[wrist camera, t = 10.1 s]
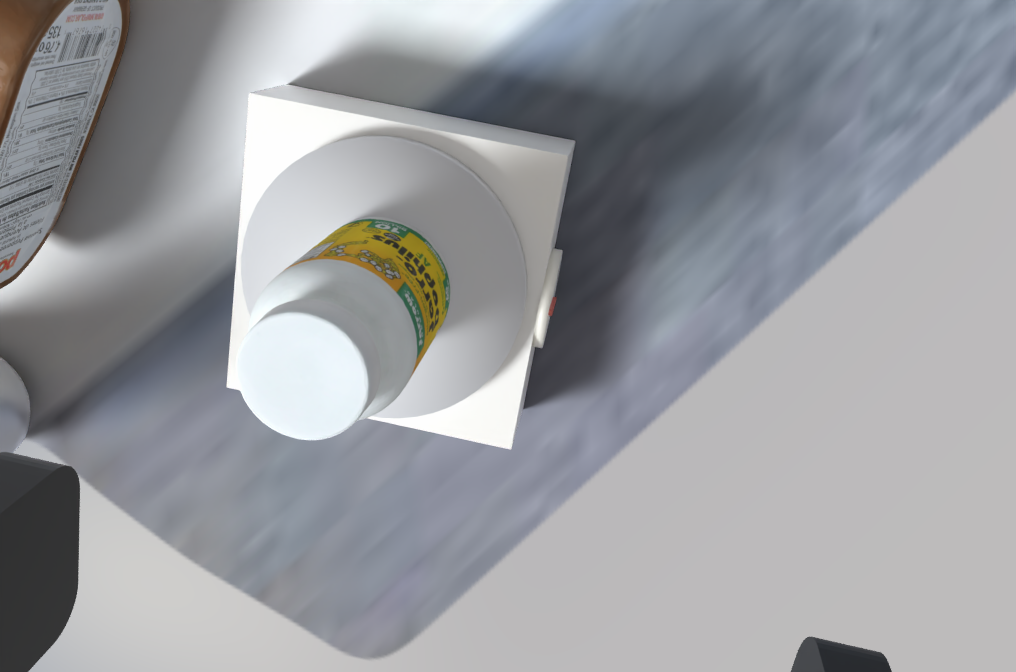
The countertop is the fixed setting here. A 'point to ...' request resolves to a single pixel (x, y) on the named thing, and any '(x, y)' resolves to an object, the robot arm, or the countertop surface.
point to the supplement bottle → (343, 328)
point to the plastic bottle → (12, 409)
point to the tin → (49, 110)
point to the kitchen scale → (431, 209)
